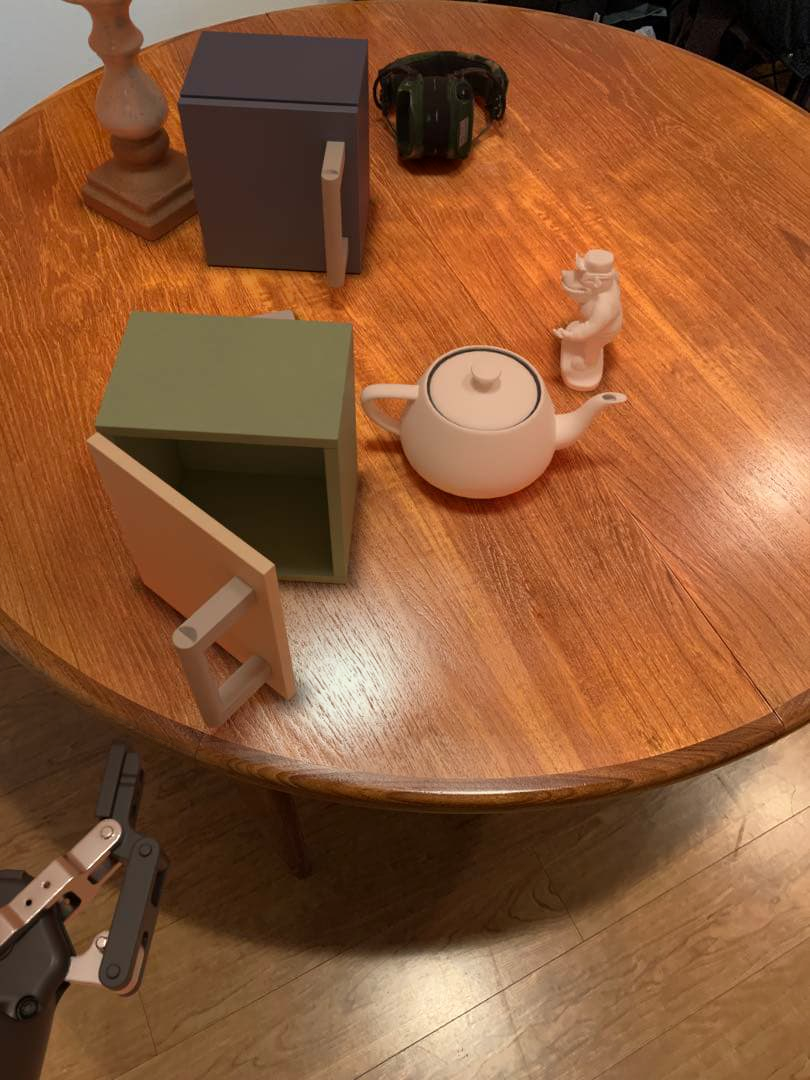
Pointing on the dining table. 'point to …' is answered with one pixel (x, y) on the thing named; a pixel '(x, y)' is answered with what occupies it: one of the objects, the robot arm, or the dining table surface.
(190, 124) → the dark cabinet door
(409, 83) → the headphones
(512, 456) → the teapot
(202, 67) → the dark purple boxy piece
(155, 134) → the candle holder
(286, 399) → the green-topped cabinet
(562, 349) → the figurine
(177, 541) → the peach cabinet door
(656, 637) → the dining table surface
